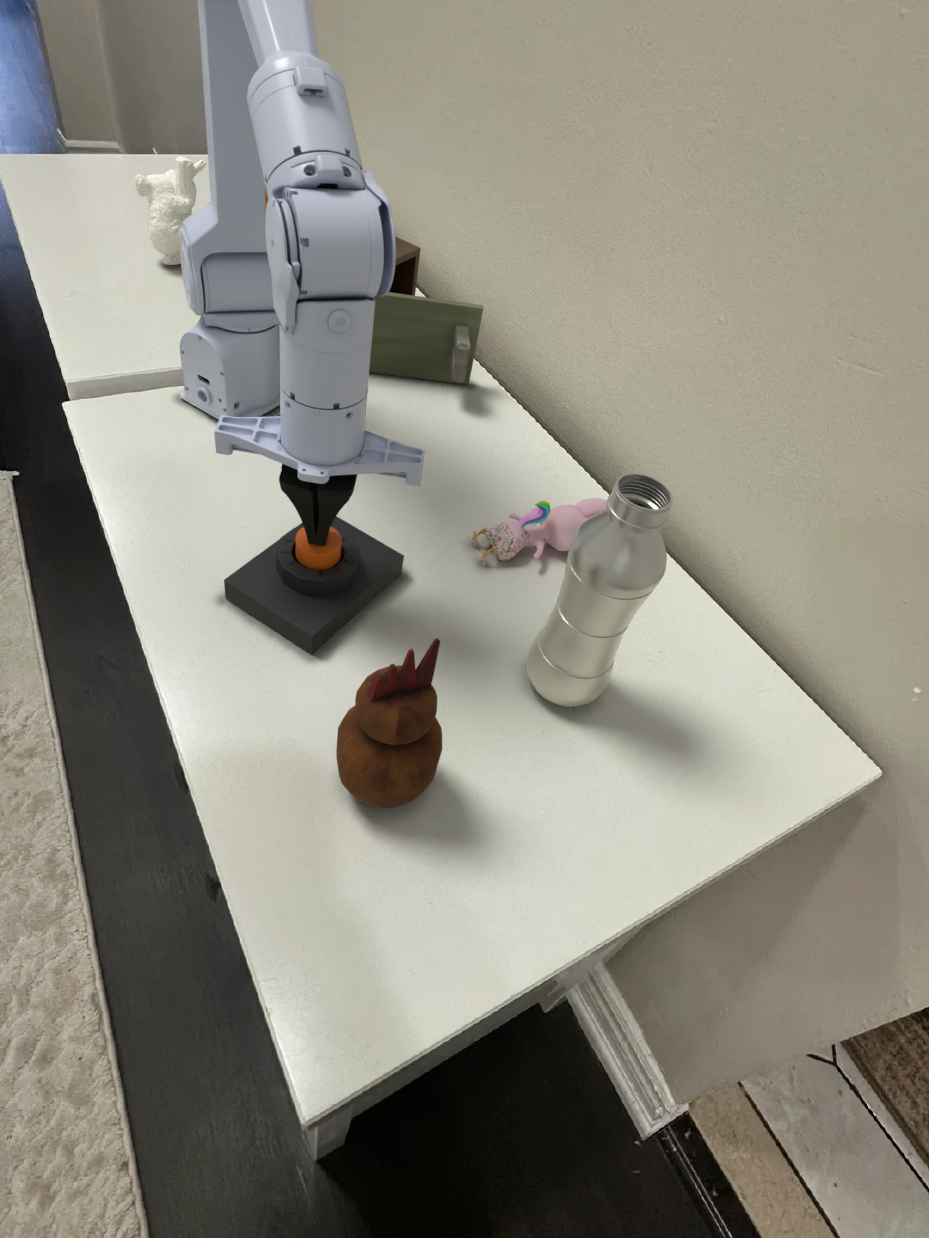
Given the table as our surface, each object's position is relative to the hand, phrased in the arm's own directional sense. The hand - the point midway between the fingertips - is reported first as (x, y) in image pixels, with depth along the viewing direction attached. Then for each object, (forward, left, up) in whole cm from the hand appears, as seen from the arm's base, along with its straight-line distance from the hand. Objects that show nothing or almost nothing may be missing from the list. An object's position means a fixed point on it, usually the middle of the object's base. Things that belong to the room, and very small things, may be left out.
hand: (318, 536), depth 61 cm
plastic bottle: (+4, -22, -6) cm, 23 cm away
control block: (0, 0, -6) cm, 6 cm away
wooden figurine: (-12, -16, -6) cm, 20 cm away
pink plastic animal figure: (+18, -13, -6) cm, 23 cm away
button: (0, 0, -2) cm, 2 cm away
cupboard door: (+30, +12, -5) cm, 33 cm away
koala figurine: (+32, +49, -6) cm, 59 cm away
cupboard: (+35, +25, -6) cm, 44 cm away
